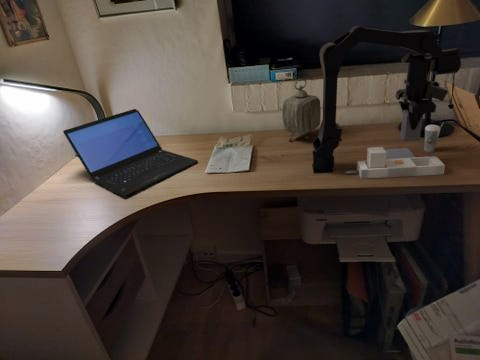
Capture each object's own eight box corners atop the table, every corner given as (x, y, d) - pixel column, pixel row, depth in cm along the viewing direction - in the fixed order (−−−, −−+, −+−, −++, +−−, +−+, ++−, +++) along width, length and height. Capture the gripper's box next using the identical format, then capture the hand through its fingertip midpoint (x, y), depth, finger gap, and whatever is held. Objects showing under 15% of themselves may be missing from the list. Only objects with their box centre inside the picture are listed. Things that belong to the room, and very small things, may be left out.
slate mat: (385, 162, 112) (385, 161, 112) (378, 151, 121) (378, 149, 120) (417, 160, 110) (417, 159, 110) (407, 149, 119) (407, 148, 119)
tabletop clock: (305, 131, 148) (303, 74, 136) (322, 135, 141) (321, 75, 130) (284, 142, 140) (280, 81, 128) (301, 146, 133) (298, 83, 122)
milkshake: (441, 152, 114) (446, 124, 109) (424, 153, 115) (428, 125, 110) (437, 147, 117) (441, 120, 113) (420, 147, 119) (424, 121, 114)
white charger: (369, 176, 105) (370, 153, 101) (366, 170, 109) (367, 147, 105) (384, 175, 104) (386, 152, 101) (380, 169, 108) (382, 146, 104)
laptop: (125, 201, 111) (108, 147, 102) (78, 176, 135) (61, 130, 126) (199, 163, 131) (190, 116, 123) (147, 147, 155) (137, 107, 147)
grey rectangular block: (404, 141, 105) (407, 113, 101) (400, 136, 109) (403, 109, 105) (419, 140, 104) (423, 112, 100) (414, 135, 108) (418, 108, 104)
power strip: (347, 179, 105) (348, 169, 103) (344, 169, 111) (344, 159, 109) (443, 174, 100) (445, 163, 99) (434, 164, 106) (436, 154, 105)
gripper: (461, 81, 88) (450, 136, 95) (435, 68, 105) (427, 116, 112) (416, 84, 90) (409, 138, 97) (397, 72, 107) (392, 118, 114)
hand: (410, 127), depth 105 cm, fingers closed on grey rectangular block, 4 cm apart
